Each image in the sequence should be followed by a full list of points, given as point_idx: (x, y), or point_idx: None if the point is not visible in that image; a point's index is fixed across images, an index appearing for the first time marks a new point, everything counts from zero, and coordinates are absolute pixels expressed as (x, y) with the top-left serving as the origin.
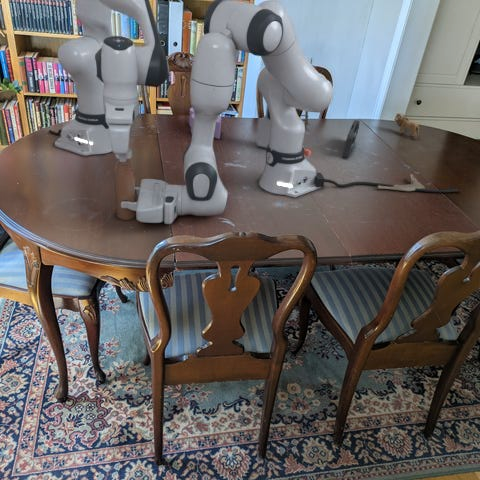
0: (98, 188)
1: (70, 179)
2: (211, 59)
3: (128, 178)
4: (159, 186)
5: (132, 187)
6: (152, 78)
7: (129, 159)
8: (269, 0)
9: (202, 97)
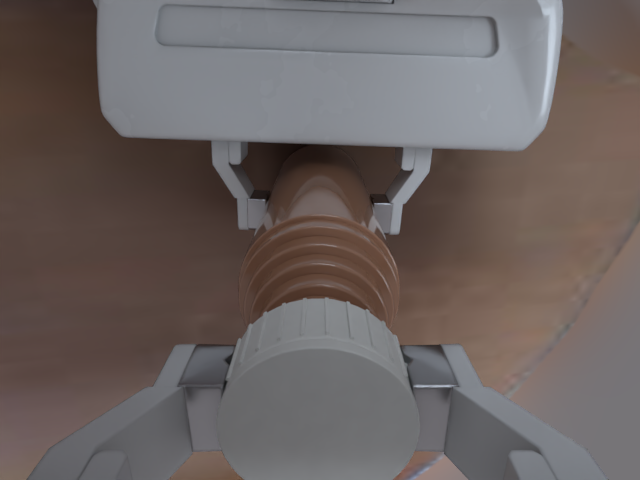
0: (91, 317)
1: (40, 418)
2: None
3: (387, 244)
4: (211, 2)
5: (360, 195)
6: None
7: (282, 295)
8: None
9: None
